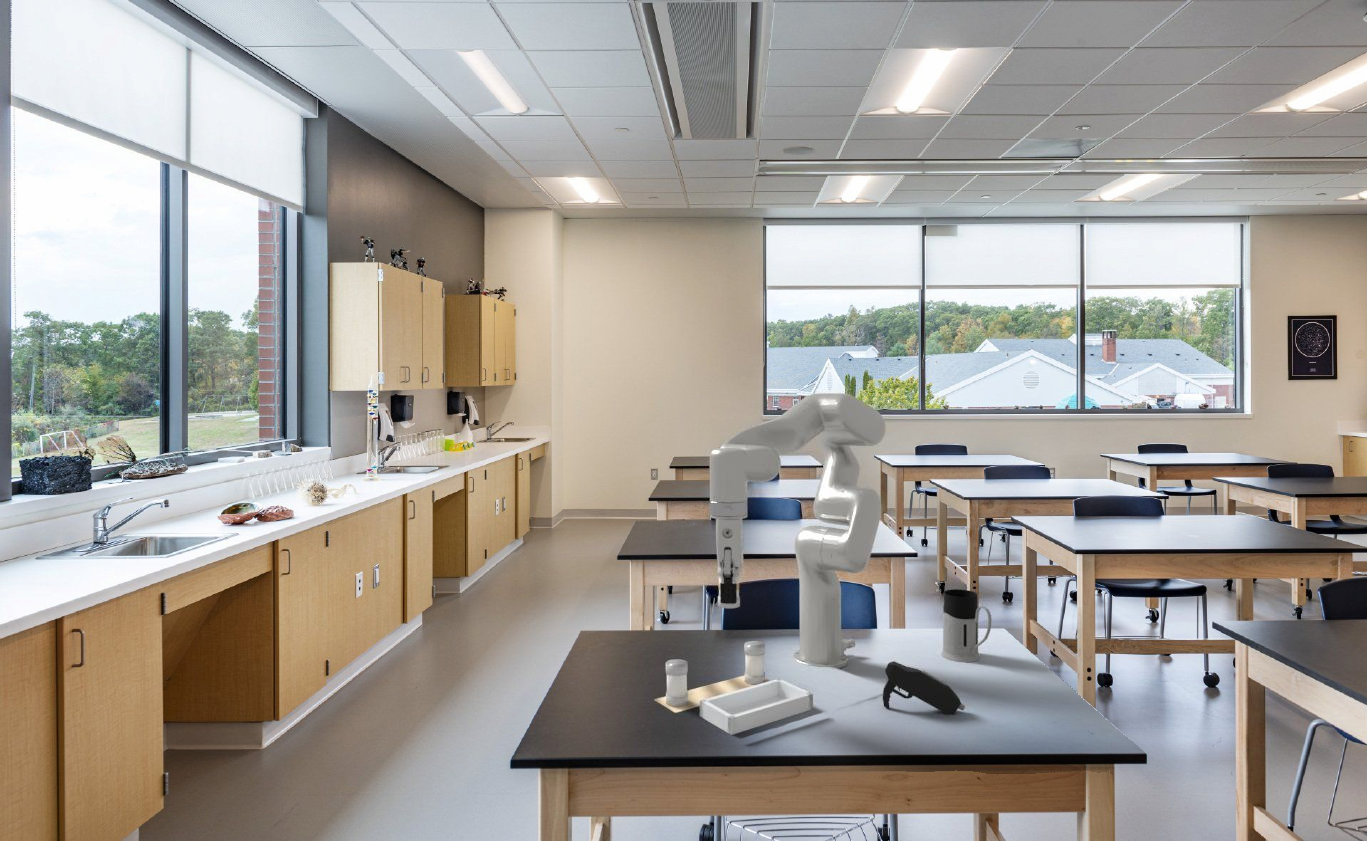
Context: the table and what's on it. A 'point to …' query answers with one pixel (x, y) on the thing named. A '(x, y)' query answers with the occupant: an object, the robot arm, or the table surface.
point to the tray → (755, 706)
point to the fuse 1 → (676, 683)
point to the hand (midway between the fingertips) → (729, 598)
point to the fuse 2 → (754, 662)
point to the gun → (920, 688)
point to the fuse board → (708, 692)
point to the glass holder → (962, 626)
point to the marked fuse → (737, 604)
